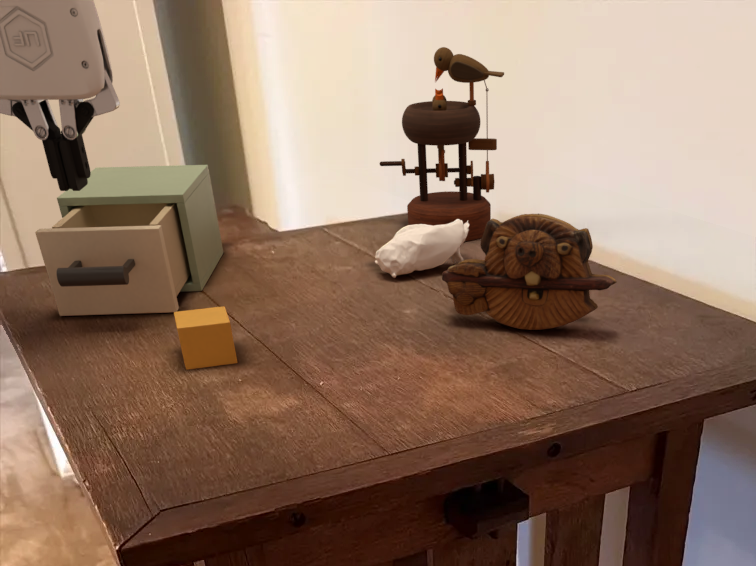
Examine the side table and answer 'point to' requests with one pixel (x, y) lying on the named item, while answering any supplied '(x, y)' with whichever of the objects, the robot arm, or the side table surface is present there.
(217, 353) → the block
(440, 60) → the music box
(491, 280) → the wooden carving
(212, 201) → the cabinet
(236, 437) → the side table surface
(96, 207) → the drawer
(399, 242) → the white lumpy oblong piece
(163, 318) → the side table surface
